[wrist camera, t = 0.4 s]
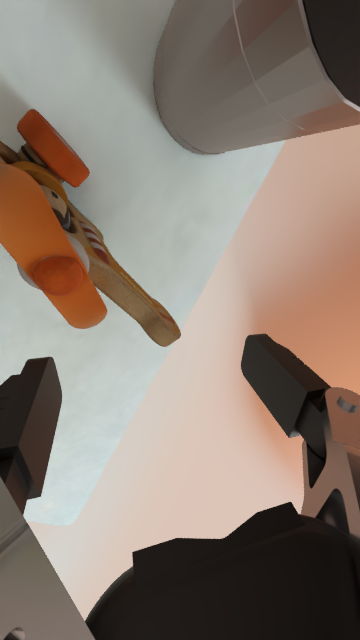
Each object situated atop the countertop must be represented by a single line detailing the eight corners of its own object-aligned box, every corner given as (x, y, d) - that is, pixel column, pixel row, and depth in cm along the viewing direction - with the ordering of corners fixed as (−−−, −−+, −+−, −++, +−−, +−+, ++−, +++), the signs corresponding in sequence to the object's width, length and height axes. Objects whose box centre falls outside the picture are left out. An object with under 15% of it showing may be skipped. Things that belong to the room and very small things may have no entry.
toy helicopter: (30, 99, 17) (-113, -43, 6) (189, 287, 29) (242, 360, 17) (-40, 177, 19) (-269, 181, 7) (139, 329, 30) (159, 423, 19)
